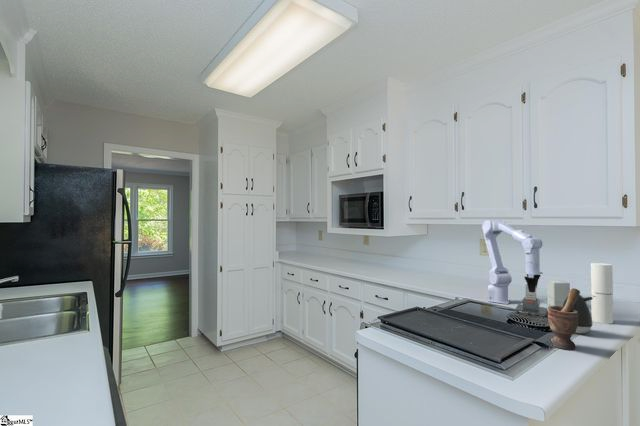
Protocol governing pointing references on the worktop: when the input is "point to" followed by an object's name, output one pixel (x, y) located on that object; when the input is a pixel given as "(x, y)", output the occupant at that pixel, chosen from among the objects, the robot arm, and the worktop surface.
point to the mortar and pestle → (564, 322)
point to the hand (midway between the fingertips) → (532, 290)
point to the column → (530, 295)
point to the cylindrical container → (602, 293)
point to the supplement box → (557, 292)
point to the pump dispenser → (582, 314)
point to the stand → (531, 307)
